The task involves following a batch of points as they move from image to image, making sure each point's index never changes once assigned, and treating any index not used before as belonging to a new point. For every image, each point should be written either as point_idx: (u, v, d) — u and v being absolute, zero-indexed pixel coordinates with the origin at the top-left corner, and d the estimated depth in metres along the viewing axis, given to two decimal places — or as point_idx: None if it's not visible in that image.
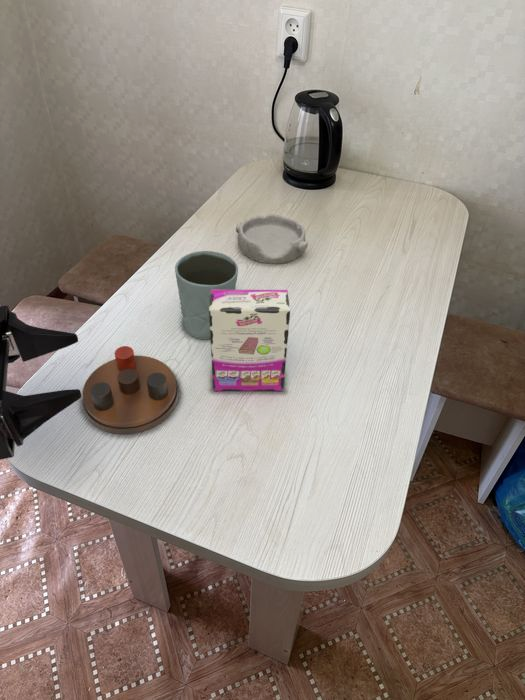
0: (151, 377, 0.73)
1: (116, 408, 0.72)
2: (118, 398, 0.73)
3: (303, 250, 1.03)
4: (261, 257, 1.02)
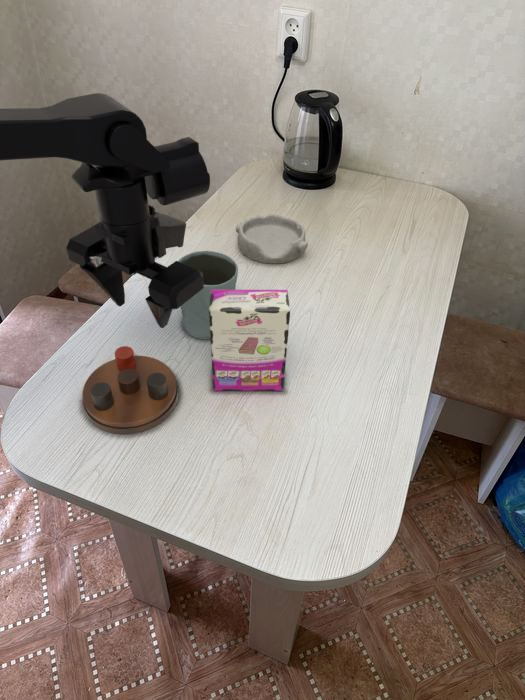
0: (151, 377, 0.73)
1: (116, 408, 0.72)
2: (118, 398, 0.73)
3: (303, 250, 1.03)
4: (261, 257, 1.02)
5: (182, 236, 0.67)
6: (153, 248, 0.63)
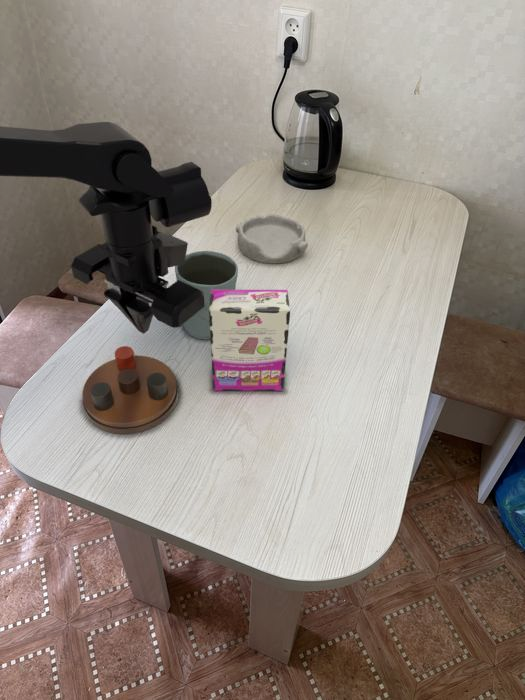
0: (151, 377, 0.73)
1: (116, 408, 0.72)
2: (118, 398, 0.73)
3: (303, 250, 1.03)
4: (261, 257, 1.02)
5: (184, 255, 0.69)
6: (156, 268, 0.65)
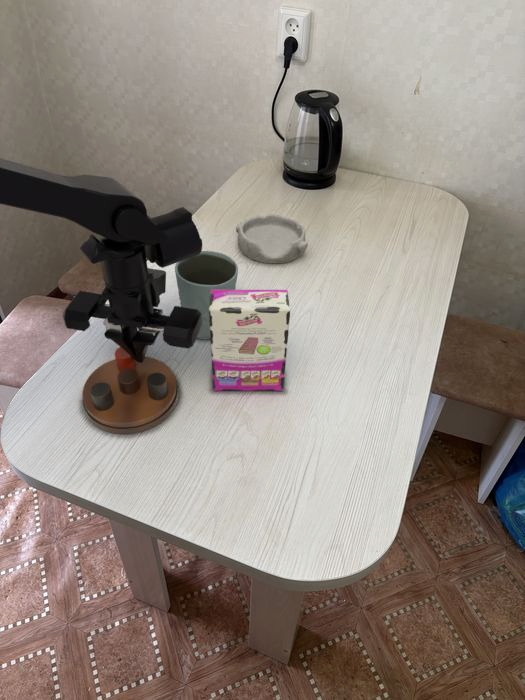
0: (151, 377, 0.73)
1: (116, 408, 0.72)
2: (118, 398, 0.73)
3: (303, 250, 1.03)
4: (261, 257, 1.02)
5: (165, 283, 0.75)
6: (151, 300, 0.70)
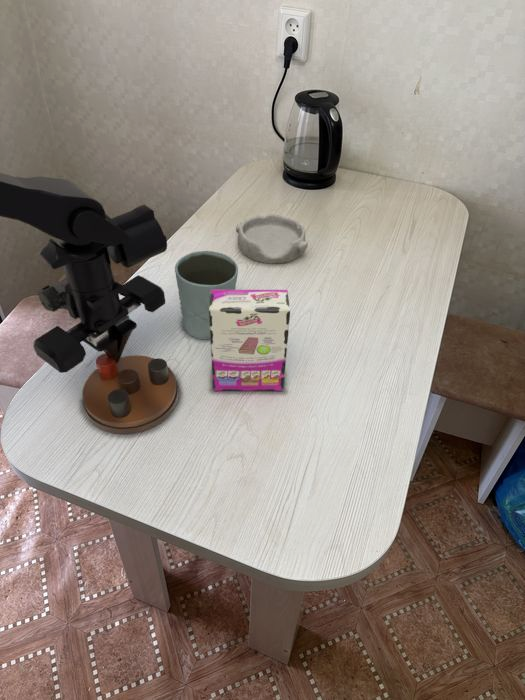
0: (151, 365, 0.74)
1: (136, 407, 0.72)
2: (129, 400, 0.73)
3: (303, 250, 1.03)
4: (261, 257, 1.02)
5: None
6: None
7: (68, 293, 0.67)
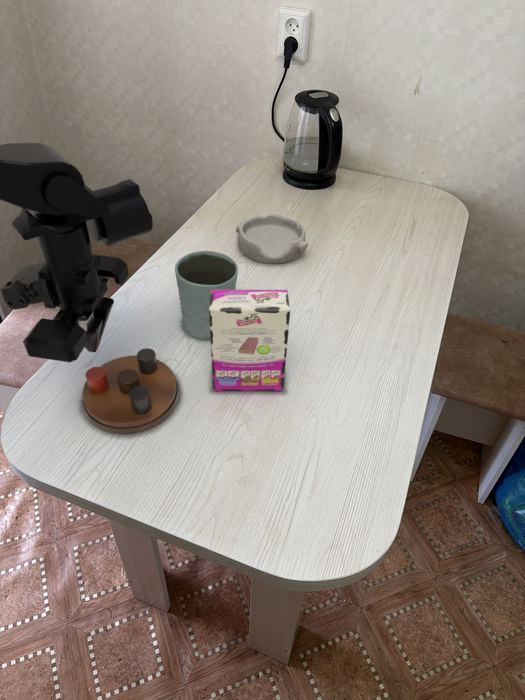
0: (141, 357, 0.76)
1: (153, 398, 0.74)
2: None
3: (303, 250, 1.03)
4: (261, 257, 1.02)
5: None
6: None
7: (44, 279, 0.60)
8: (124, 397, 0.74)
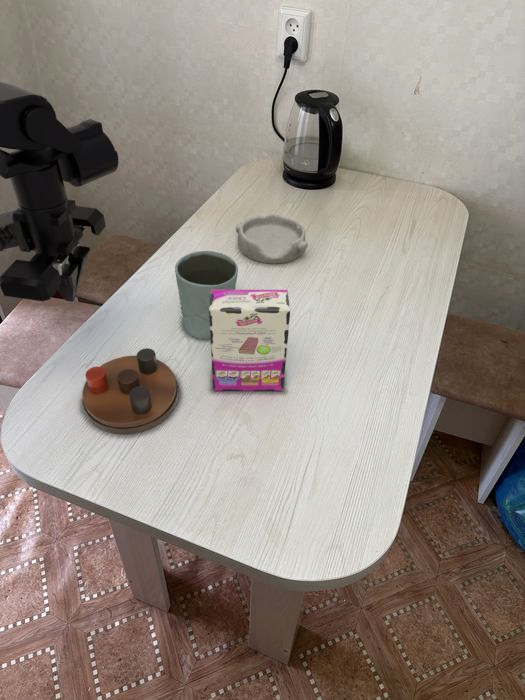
0: (141, 357, 0.76)
1: (153, 398, 0.74)
2: None
3: (303, 250, 1.03)
4: (261, 257, 1.02)
5: None
6: None
7: (18, 221, 0.62)
8: (124, 397, 0.74)
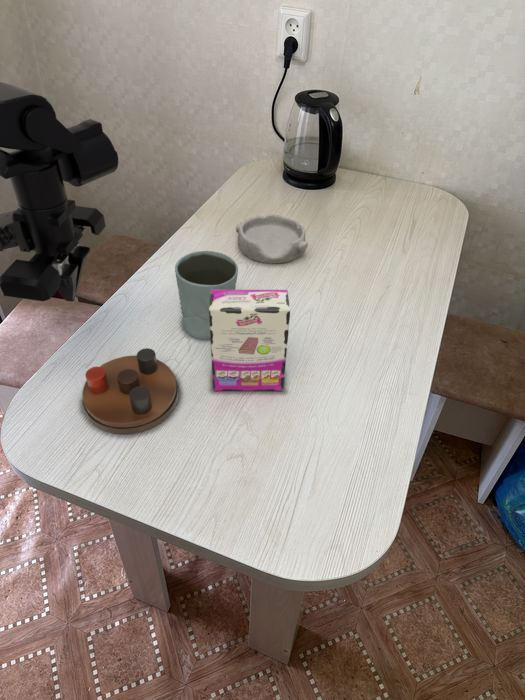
0: (141, 357, 0.76)
1: (153, 398, 0.74)
2: None
3: (303, 250, 1.03)
4: (261, 257, 1.02)
5: None
6: None
7: (18, 221, 0.62)
8: (124, 397, 0.74)
